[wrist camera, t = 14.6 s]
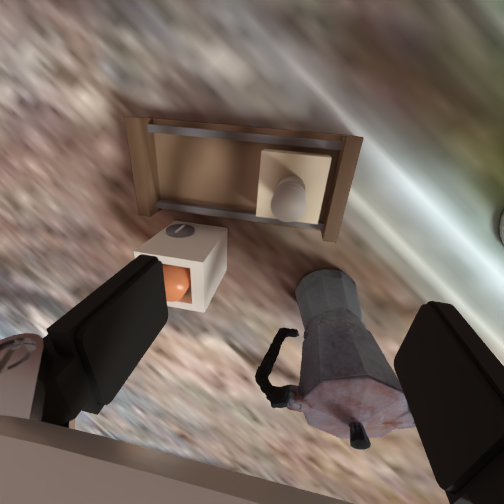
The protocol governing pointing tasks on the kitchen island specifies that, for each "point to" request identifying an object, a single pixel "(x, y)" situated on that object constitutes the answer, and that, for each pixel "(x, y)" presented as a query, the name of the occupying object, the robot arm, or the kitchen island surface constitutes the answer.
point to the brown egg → (176, 281)
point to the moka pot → (338, 366)
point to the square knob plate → (292, 185)
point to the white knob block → (192, 258)
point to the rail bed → (229, 168)
